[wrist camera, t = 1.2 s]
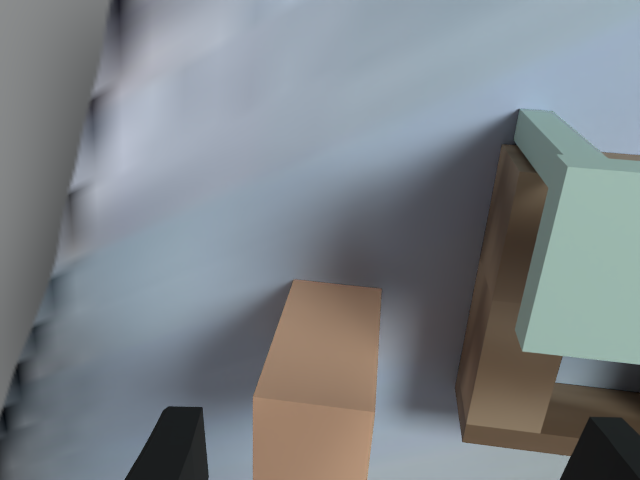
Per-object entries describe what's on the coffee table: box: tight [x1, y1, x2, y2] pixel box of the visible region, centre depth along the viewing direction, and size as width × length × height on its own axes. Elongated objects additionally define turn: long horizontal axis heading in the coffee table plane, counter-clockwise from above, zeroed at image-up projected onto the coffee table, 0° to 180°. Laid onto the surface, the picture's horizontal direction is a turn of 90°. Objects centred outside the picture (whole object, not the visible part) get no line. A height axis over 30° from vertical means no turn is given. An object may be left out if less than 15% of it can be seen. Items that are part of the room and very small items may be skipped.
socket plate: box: [455, 144, 640, 456], centre depth 22 cm, size 12×12×4 cm
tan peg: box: [253, 279, 382, 480], centre depth 23 cm, size 4×4×8 cm
